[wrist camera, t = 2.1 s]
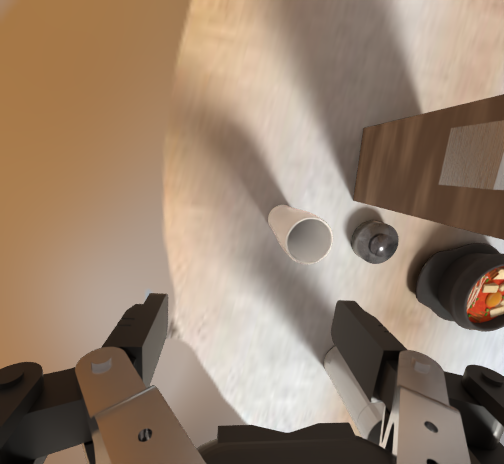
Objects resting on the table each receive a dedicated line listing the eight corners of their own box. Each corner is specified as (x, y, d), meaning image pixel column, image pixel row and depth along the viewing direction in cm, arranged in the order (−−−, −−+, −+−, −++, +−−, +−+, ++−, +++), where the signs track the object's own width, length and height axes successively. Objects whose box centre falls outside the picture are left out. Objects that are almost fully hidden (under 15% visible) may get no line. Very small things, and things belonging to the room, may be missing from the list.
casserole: (397, 310, 58) (427, 333, 50) (427, 231, 54) (465, 242, 45) (486, 321, 62) (526, 345, 54) (520, 250, 58) (569, 263, 50)
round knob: (395, 237, 53) (410, 243, 49) (367, 265, 53) (380, 274, 49) (372, 212, 51) (385, 216, 47) (343, 241, 51) (354, 248, 47)
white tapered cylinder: (298, 234, 50) (332, 263, 35) (263, 236, 49) (284, 267, 34) (299, 199, 48) (335, 215, 33) (263, 201, 47) (285, 217, 33)
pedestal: (427, 133, 48) (803, 78, 17) (413, 202, 51) (709, 259, 21) (363, 128, 46) (659, 56, 15) (353, 200, 49) (580, 259, 19)
